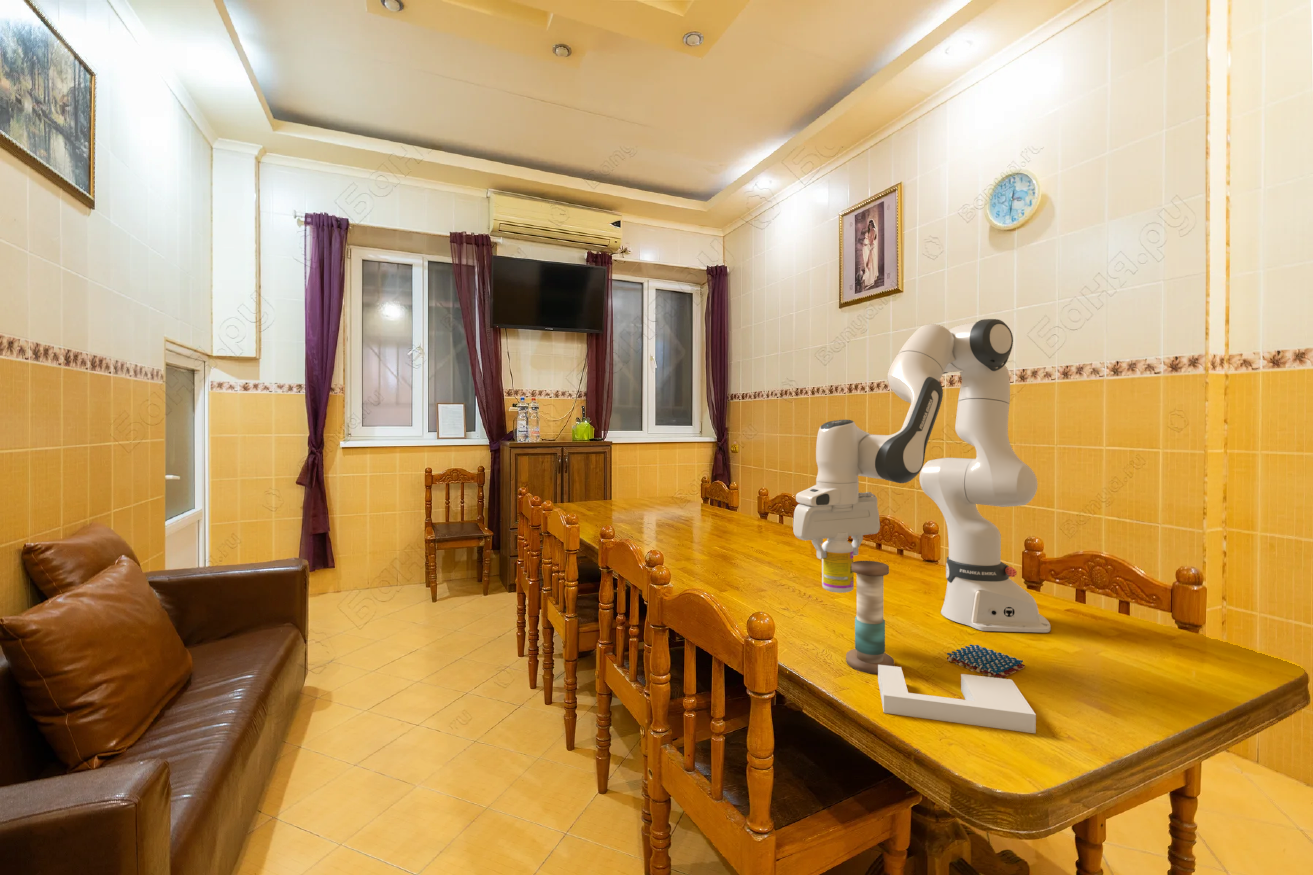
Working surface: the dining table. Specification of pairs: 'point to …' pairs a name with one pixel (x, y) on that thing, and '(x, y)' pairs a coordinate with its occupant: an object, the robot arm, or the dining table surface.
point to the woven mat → (986, 661)
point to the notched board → (960, 702)
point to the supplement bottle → (838, 564)
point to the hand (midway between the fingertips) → (837, 556)
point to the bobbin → (869, 619)
